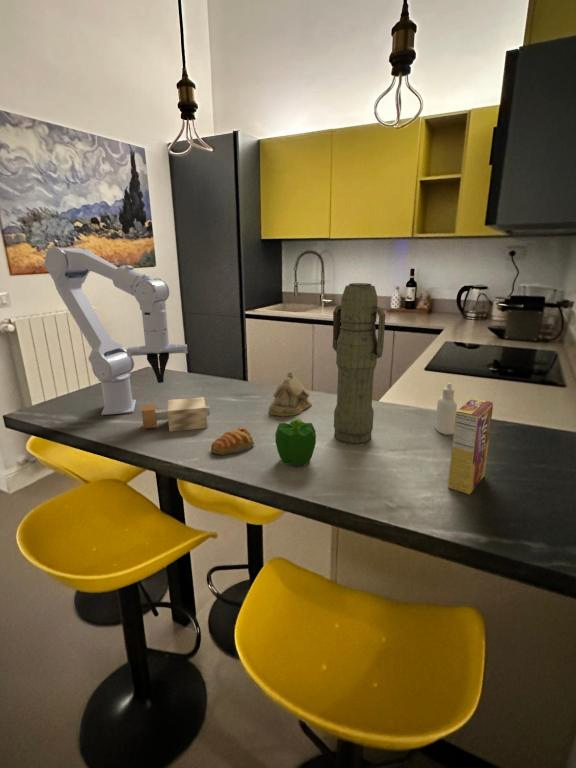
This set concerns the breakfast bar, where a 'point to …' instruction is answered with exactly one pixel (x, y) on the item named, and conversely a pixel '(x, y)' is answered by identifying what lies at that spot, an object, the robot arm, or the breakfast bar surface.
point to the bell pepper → (295, 442)
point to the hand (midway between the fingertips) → (160, 381)
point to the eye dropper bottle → (446, 412)
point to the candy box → (470, 445)
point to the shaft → (157, 415)
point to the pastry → (233, 442)
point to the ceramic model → (289, 397)
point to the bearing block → (187, 414)
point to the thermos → (356, 361)
